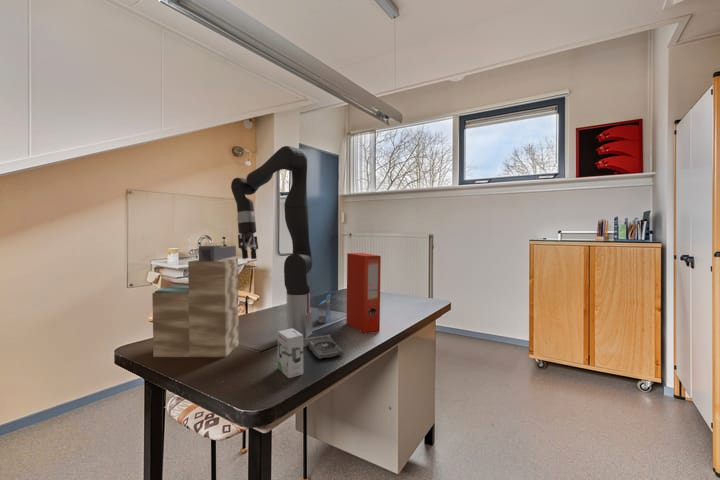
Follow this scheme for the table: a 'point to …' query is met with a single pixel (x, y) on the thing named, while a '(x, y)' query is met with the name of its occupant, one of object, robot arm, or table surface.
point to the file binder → (363, 292)
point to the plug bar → (216, 252)
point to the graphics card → (323, 347)
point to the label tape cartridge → (324, 310)
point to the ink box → (290, 352)
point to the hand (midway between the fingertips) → (249, 258)
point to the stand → (198, 312)
